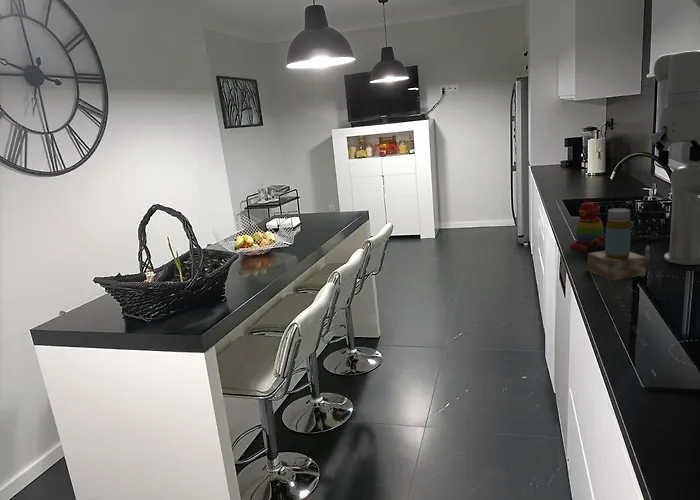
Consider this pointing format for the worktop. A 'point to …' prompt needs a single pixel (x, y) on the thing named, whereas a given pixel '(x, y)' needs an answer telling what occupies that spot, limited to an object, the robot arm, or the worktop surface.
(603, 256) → the chopping block
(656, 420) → the worktop surface
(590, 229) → the stacking bear
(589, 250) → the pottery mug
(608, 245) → the bottle
